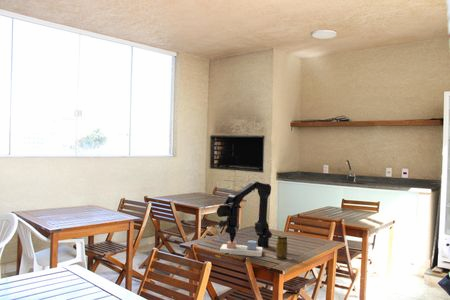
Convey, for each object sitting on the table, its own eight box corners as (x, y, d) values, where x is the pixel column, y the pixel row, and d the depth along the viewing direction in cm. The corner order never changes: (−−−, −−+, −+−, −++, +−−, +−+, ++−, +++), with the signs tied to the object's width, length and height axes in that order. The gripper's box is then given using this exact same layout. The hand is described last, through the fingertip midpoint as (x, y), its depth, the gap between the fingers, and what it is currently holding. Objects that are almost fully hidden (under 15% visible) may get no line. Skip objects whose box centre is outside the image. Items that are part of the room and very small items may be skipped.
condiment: (280, 255, 226) (281, 234, 226) (292, 258, 220) (293, 237, 220) (272, 257, 221) (273, 236, 221) (285, 261, 215) (286, 239, 215)
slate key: (256, 247, 230) (256, 240, 230) (255, 249, 226) (256, 242, 226) (247, 246, 231) (248, 240, 231) (247, 249, 226) (247, 242, 226)
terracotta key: (236, 248, 232) (236, 241, 232) (235, 250, 227) (235, 243, 227) (227, 247, 233) (228, 240, 233) (226, 249, 228) (227, 242, 228)
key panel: (262, 251, 233) (262, 247, 233) (261, 256, 222) (261, 252, 222) (222, 248, 237) (223, 243, 237) (219, 253, 225) (219, 248, 225)
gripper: (222, 212, 241) (220, 237, 241) (217, 217, 222) (215, 244, 222) (240, 213, 239) (238, 239, 239) (236, 218, 220) (235, 246, 221)
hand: (231, 242), depth 230 cm, fingers closed, pressing on terracotta key
